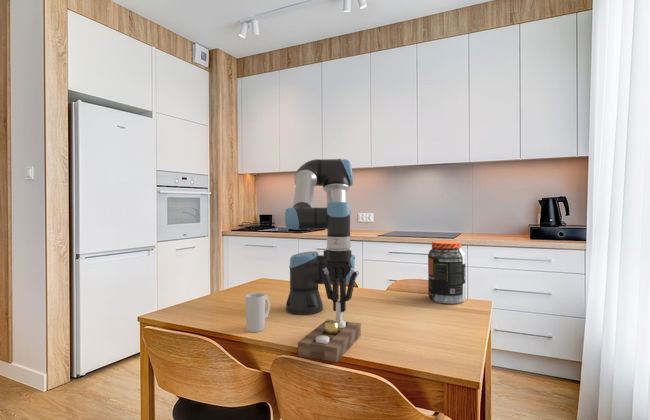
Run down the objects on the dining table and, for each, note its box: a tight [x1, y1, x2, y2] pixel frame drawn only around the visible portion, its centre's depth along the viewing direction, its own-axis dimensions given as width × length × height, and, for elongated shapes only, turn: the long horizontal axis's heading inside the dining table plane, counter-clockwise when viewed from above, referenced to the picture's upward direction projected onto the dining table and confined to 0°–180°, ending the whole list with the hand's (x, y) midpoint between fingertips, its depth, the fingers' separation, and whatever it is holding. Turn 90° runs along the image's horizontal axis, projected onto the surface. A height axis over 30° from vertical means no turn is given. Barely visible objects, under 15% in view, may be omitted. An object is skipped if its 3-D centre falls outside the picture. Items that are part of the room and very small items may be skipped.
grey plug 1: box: [316, 335, 329, 344], centre depth 111 cm, size 4×4×4 cm
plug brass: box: [324, 320, 338, 336], centre depth 118 cm, size 4×4×4 cm
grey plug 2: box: [334, 319, 347, 328], centre depth 124 cm, size 4×4×4 cm
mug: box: [245, 292, 271, 333], centre depth 134 cm, size 10×7×12 cm, turn 142°
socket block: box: [297, 318, 362, 363], centre depth 118 cm, size 22×12×4 cm, turn 157°
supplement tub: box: [427, 240, 467, 305], centre depth 168 cm, size 16×16×26 cm
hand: (339, 321), depth 124 cm, fingers closed
